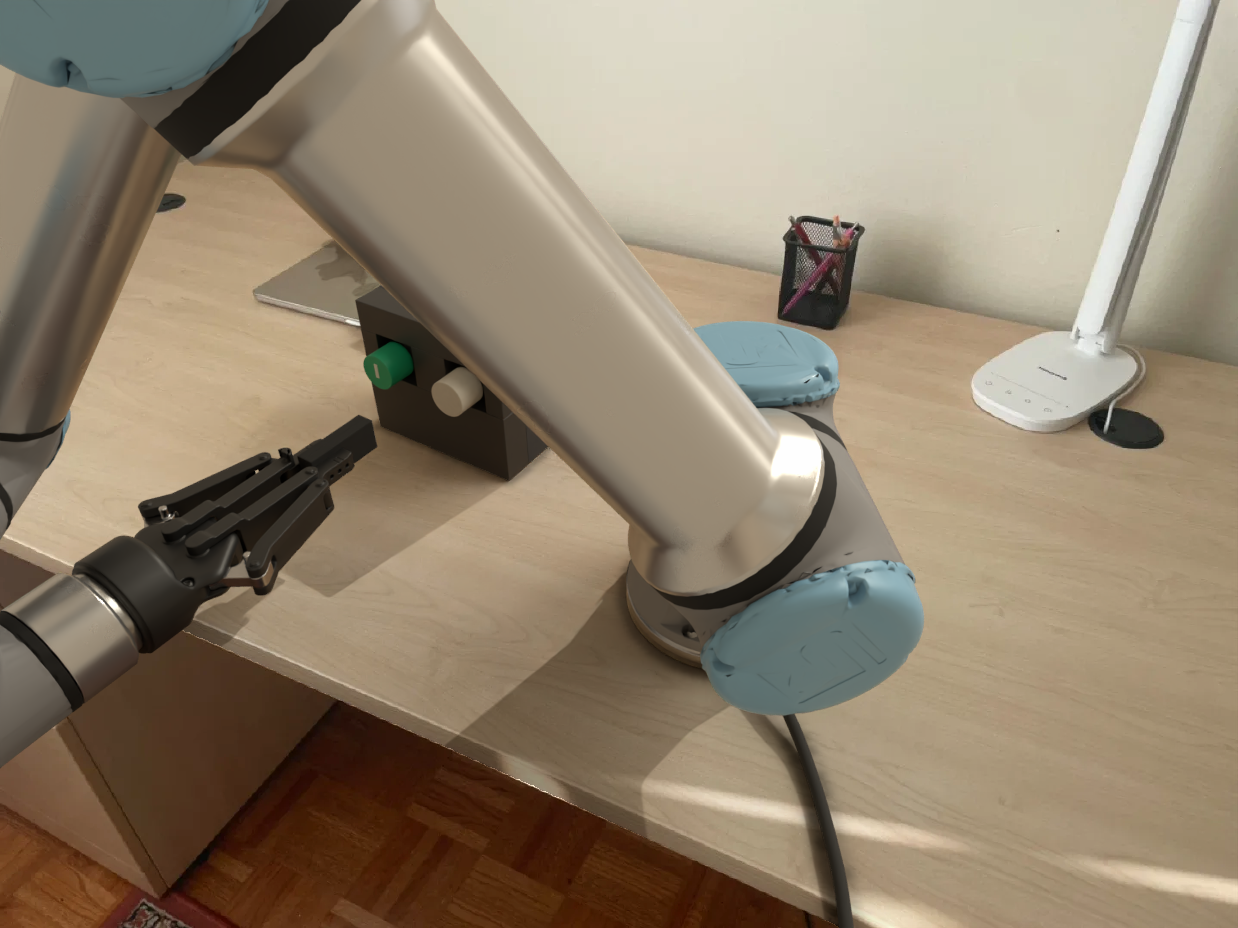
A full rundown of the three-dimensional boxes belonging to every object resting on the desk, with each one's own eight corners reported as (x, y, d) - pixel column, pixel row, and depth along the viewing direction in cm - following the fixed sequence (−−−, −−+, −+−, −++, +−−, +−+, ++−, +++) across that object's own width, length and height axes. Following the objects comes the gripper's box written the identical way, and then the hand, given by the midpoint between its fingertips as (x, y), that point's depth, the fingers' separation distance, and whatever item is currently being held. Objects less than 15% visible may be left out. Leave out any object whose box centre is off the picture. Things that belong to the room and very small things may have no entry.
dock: (509, 481, 83) (496, 349, 74) (380, 426, 90) (354, 299, 81) (559, 437, 88) (552, 309, 80) (433, 388, 95) (415, 265, 86)
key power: (393, 394, 81) (387, 362, 79) (366, 383, 83) (359, 351, 80) (416, 379, 83) (411, 347, 81) (388, 368, 85) (383, 337, 82)
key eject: (464, 422, 78) (459, 389, 76) (433, 410, 79) (428, 377, 77) (485, 405, 80) (481, 373, 78) (455, 394, 81) (451, 361, 79)
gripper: (67, 613, 64) (320, 441, 79) (188, 695, 58) (434, 493, 74) (24, 534, 59) (302, 368, 75) (151, 615, 53) (422, 418, 69)
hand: (367, 431), depth 74 cm, fingers closed
